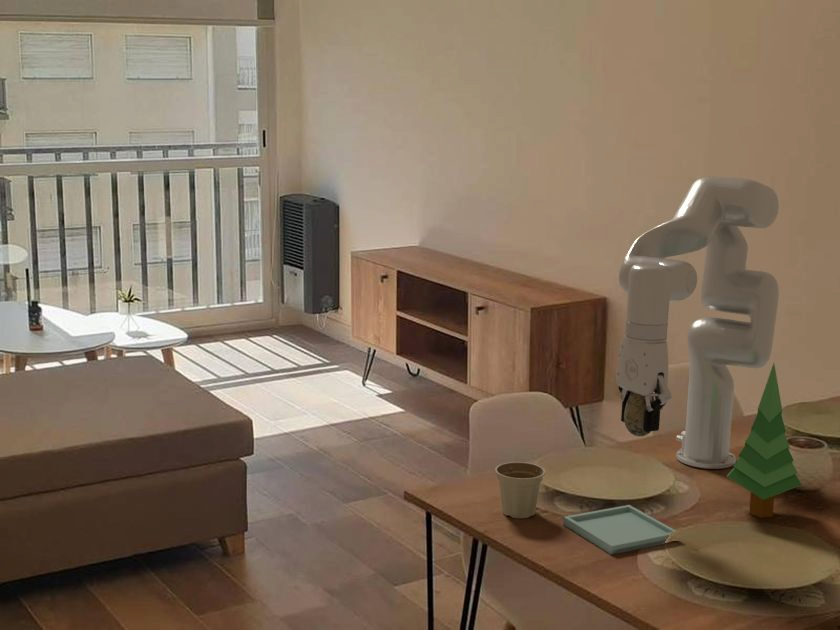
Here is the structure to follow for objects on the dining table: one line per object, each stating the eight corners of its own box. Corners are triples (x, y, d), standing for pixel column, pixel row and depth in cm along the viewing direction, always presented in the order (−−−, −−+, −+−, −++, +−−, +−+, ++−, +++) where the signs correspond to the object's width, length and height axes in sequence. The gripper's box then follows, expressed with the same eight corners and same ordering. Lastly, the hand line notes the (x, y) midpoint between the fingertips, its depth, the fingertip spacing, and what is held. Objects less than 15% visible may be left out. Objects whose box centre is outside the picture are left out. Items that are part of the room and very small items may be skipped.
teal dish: (563, 524, 219) (563, 516, 219) (628, 512, 226) (629, 504, 226) (611, 554, 206) (611, 546, 206) (679, 540, 213) (679, 532, 213)
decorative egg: (617, 436, 219) (620, 384, 217) (630, 429, 224) (634, 378, 222) (647, 442, 216) (651, 389, 214) (660, 435, 221) (663, 383, 219)
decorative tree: (707, 503, 232) (718, 354, 226) (778, 497, 236) (791, 351, 230) (742, 529, 219) (755, 372, 213) (816, 523, 223) (831, 369, 217)
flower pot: (510, 525, 218) (512, 481, 217) (484, 508, 227) (486, 465, 225) (552, 517, 223) (554, 474, 221) (526, 501, 231) (527, 459, 229)
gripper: (601, 323, 222) (596, 415, 226) (659, 342, 207) (652, 441, 210) (634, 321, 225) (628, 412, 229) (693, 339, 210) (685, 436, 214)
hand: (639, 425), depth 220 cm, fingers closed on decorative egg, 6 cm apart
